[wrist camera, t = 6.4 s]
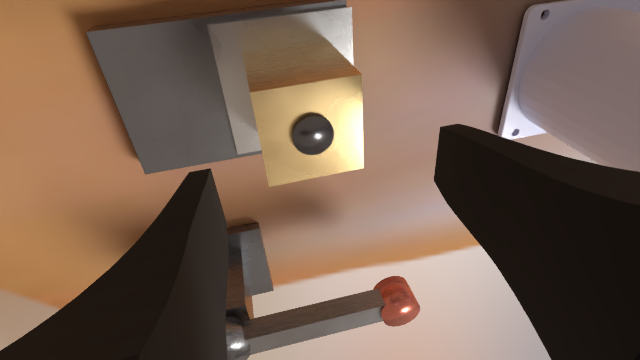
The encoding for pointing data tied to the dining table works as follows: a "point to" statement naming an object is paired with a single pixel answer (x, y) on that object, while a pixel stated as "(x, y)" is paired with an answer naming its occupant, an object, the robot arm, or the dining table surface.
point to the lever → (322, 319)
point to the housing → (306, 111)
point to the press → (208, 98)
